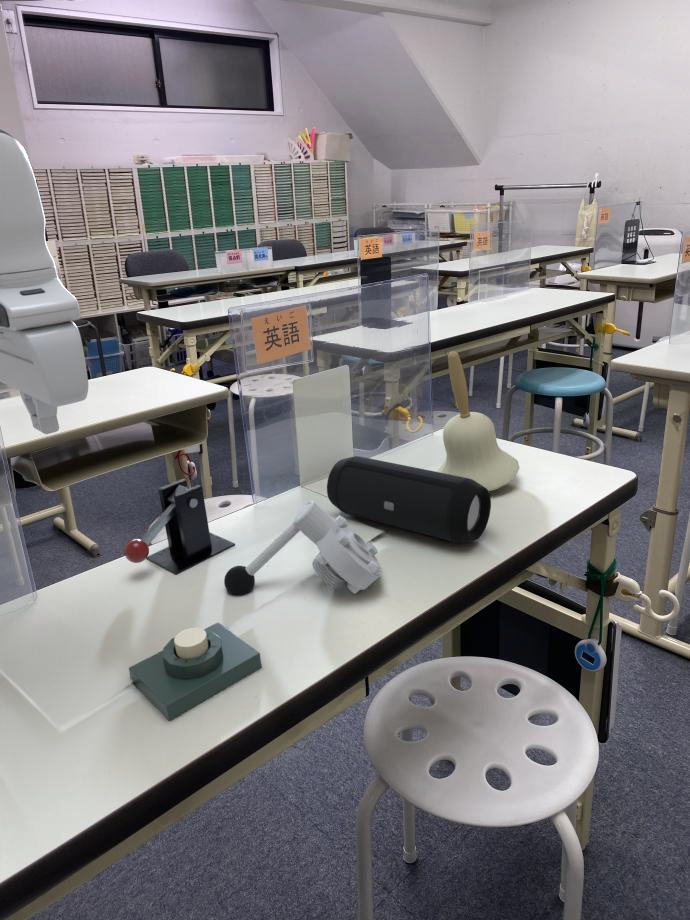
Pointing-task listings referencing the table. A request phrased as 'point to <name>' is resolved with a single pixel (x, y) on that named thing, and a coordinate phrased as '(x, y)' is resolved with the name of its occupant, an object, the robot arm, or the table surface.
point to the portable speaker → (410, 498)
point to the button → (191, 643)
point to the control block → (194, 672)
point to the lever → (151, 532)
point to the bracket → (187, 531)
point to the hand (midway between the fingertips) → (46, 430)
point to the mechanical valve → (335, 562)
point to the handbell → (473, 440)
